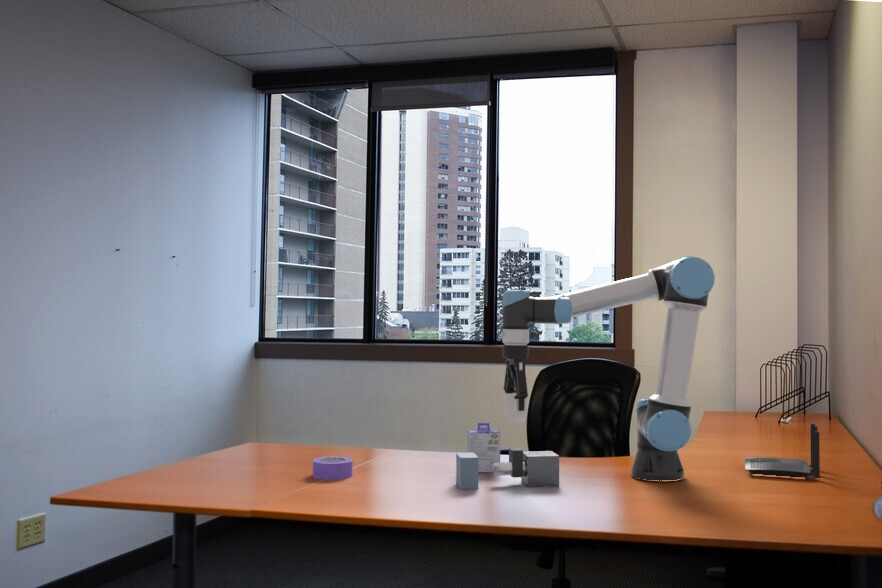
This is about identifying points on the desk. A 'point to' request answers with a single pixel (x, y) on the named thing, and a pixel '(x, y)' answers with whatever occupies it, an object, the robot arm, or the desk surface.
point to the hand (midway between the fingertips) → (515, 419)
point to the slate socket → (467, 470)
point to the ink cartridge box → (485, 446)
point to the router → (788, 462)
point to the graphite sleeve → (541, 469)
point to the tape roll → (332, 468)
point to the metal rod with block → (511, 464)
